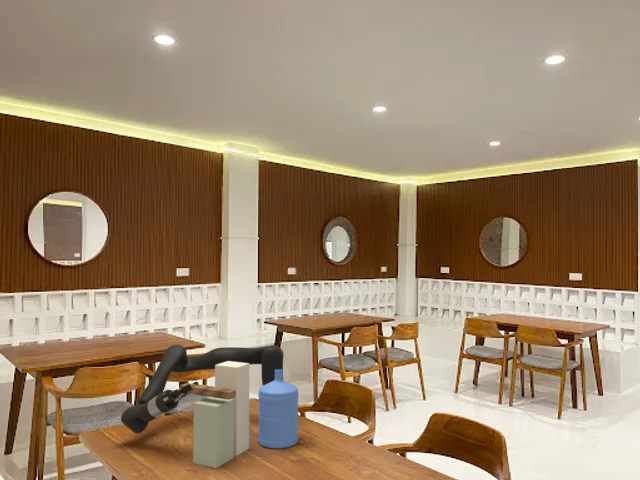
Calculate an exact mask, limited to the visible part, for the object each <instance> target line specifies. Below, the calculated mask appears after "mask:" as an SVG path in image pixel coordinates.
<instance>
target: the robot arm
mask: <svg viewBox="0 0 640 480" xmlns="http://www.w3.org/2000/svg"><path fill="white" fill-rule="evenodd" d="M187 355H188V354H187V352H186V349H185V348H184V346H183V345H181V344H172V345H170V346H169V347H168V348H167V349H166V350H165V352H164V353H163V355H162V358H161V360H160V361H159V364H158V366H157V368H156V370H155V372H154V374H153V376H152V377H151V379H150V381H149V382H148V384H147V385H146V388H145V389H144V390H143V391H142V393H141V395H140V396H139V398H138V399H137V401H136V403H137V405H132V406H130V407H128V408H126V409H124V411H123V412H122V413H121V415H120V422H121V423H122V424H123V426H125V427H127V428H128V429H129V430H130V431H131V432H133V433H134V434H137V435H138V434H140V433H143V432H144V431H145V430H146V429H147V427H148V425H149V423H150V422H152V421H154V420H156V419H158V418H159V417H161V416H162V417H163V416H164V415H167V413H169V412H171V411H172V410H173V411H174V409H176V408H178V405H179V401H181V400H183V399H184V398H186V397H188V396H189V395H191V394H188V393H186V392H188V391H190V390H191V385H190V384H188V385H186V386H184V387H183V388H180V387H179V388H177V389H174V390H173V389H165V388H166V385H167V382H168V380H169V376H170V375H171V373H177V374H178V373H186V372H195V371H204V370H205V371H206V370H215V365H217V364H220V363H223V362H227V361H232V362H241V363H249V366H250V365H251V366H252V365H261V387H262V386H264V385H266V384H268V383H270V382H272V381H274V380H275V370H276V369H282V370H283V371H282V374H283V376H282V379H283V380H284V355H285V354H284V350H283V349H282V348H281V347H280V346H278V345H275V344H273V345H265V346H258V347H257V346H256V347H238V346H237V347H235V346H234V347H233V346H232V347H231V346H230V347H229V346H228V347H226V346H224V347H217V348H214V349H211V350H209V351H207V352H206V353H204V354H203V353H202V354H200V355H196V356H195V355H193V356H189V355H188V356H187ZM192 384H197V385H200V384H199V381H194V382H192Z"/></svg>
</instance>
